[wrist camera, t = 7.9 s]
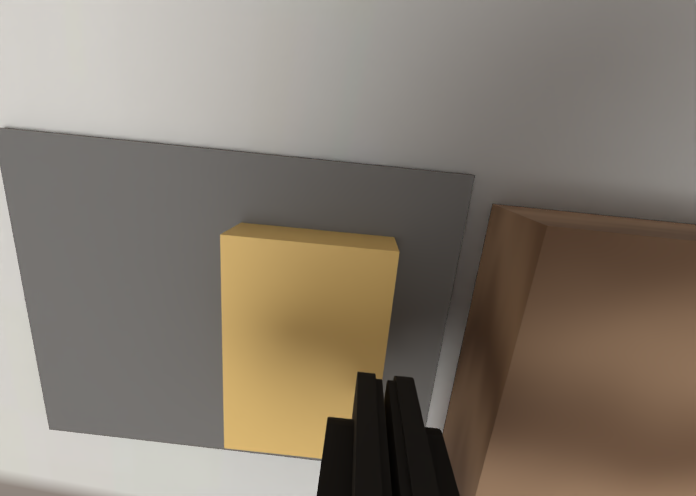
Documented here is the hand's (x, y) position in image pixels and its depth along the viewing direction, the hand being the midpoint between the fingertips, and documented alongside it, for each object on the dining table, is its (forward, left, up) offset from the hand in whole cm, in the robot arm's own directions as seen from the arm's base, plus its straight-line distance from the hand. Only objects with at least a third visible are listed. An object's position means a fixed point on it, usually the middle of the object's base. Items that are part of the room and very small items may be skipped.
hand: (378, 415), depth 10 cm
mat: (0, -6, -5) cm, 8 cm away
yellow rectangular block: (0, -3, -2) cm, 4 cm away
